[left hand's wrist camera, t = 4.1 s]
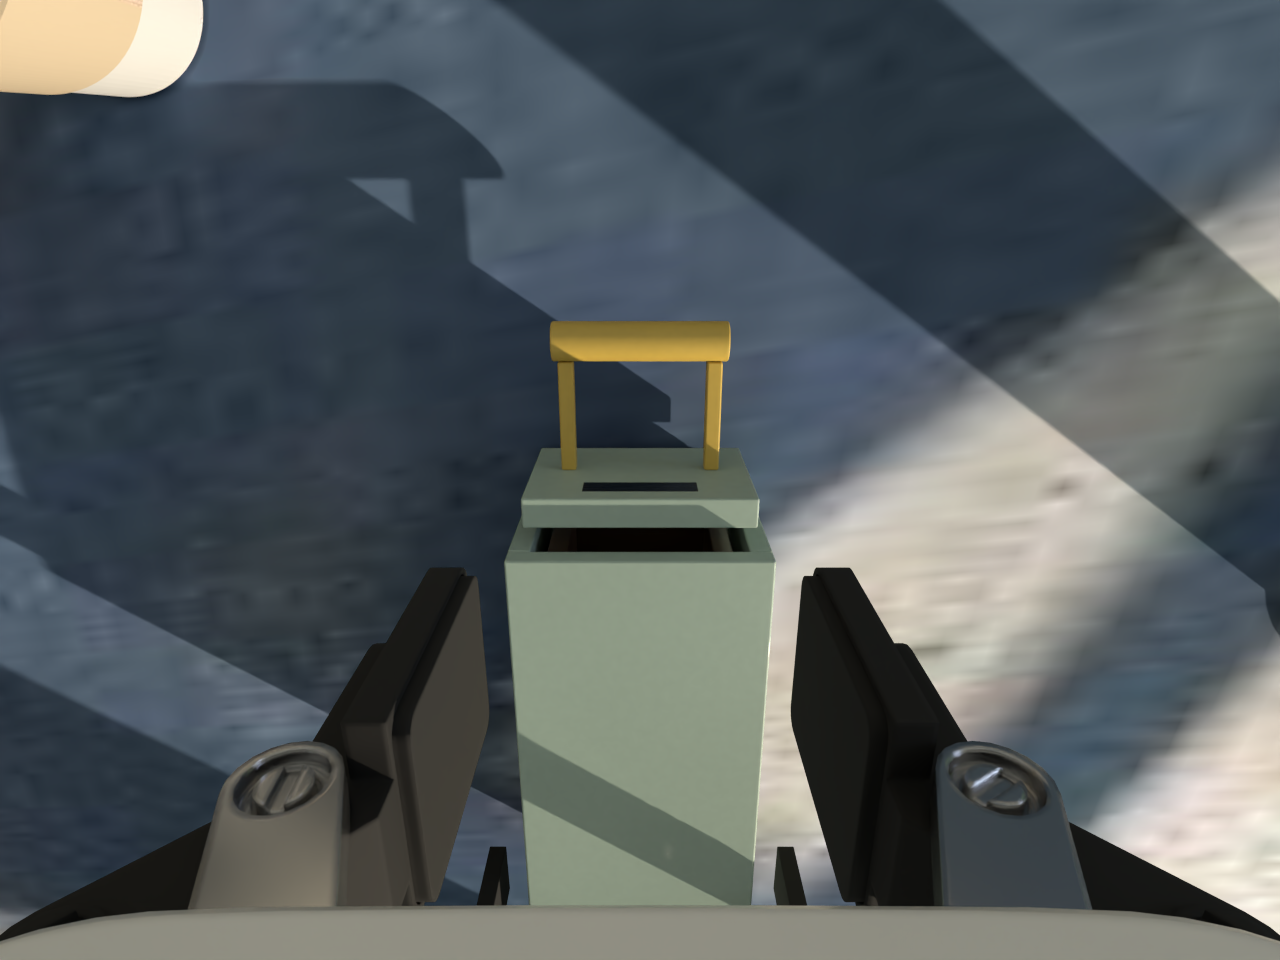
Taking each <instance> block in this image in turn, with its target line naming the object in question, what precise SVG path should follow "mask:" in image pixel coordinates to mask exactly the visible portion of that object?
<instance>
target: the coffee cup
mask: <svg viewBox="0 0 1280 960" xmlns="http://www.w3.org/2000/svg"><path fill="white" fill-rule="evenodd" d="M202 25H203V3H202V0H0V92H14V93H29V94H45V95H56V94H65V93H83V94H95V95H107V96H120V97H139V96H145V95H149V94H153V93H155V92H158V91H160V90H162V89H164V88H166V87H167V86H169V85H170V84H172V83H173V82H174V81H176V80H177V79H178V78H179V77H180V76H181V75H182V74H183V73H184V71H185V70H186V69H187V67H188V66H189V64H190V63H191V61H192V59H193V57H194V55H195V53H196V51H197V48H198V45H199V41H200V38H201V32H202Z"/></svg>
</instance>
